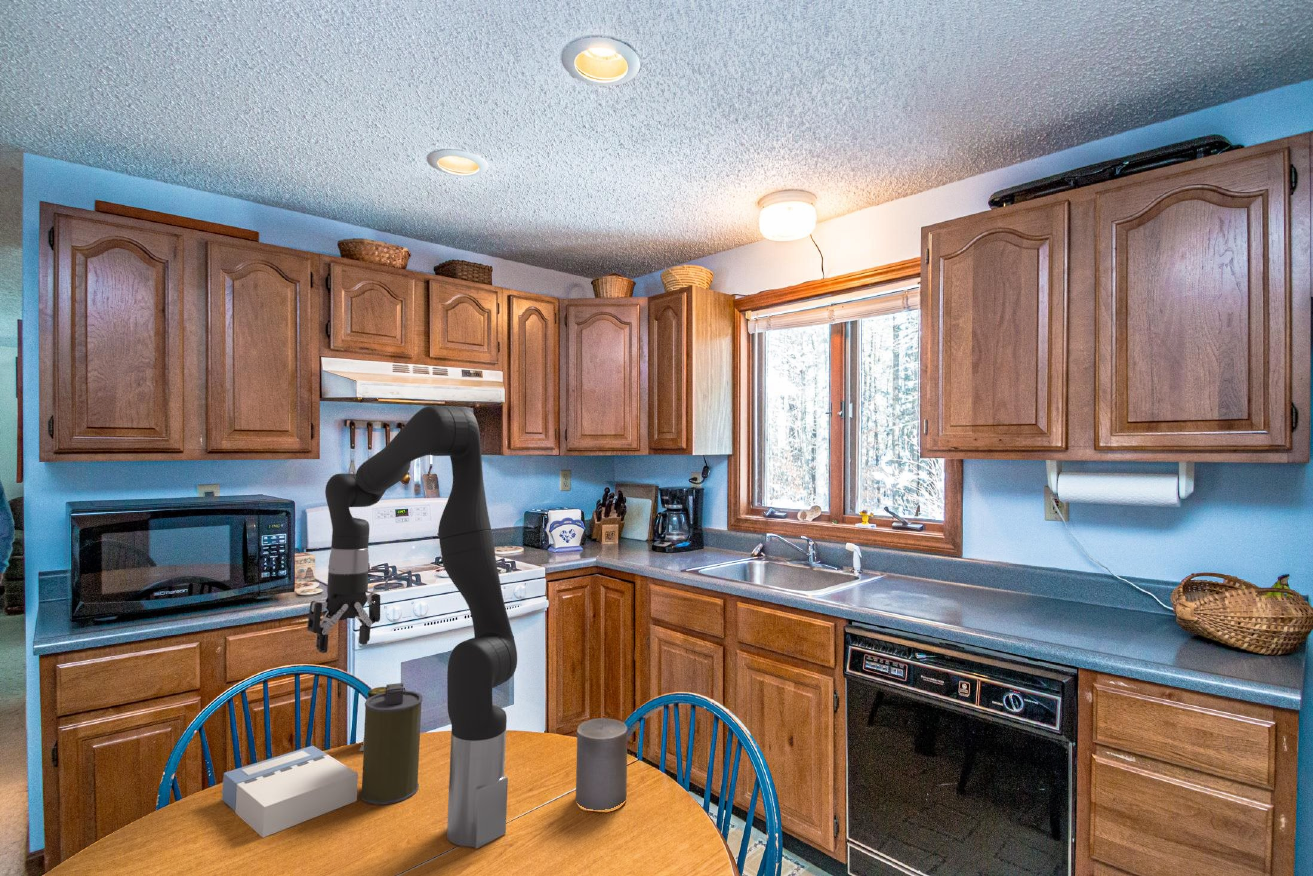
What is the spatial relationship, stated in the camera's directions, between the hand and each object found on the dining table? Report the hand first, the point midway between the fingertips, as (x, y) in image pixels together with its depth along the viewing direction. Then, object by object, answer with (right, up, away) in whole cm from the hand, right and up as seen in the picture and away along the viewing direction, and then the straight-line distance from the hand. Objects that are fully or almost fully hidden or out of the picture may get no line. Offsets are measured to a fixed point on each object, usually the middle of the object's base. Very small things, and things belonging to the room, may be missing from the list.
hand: (343, 648), depth 134 cm
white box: (-1, -24, -16) cm, 29 cm away
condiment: (+2, -26, +12) cm, 28 cm away
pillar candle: (+54, -26, -11) cm, 61 cm away
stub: (-8, -24, -10) cm, 27 cm away
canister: (+13, -25, -9) cm, 30 cm away
